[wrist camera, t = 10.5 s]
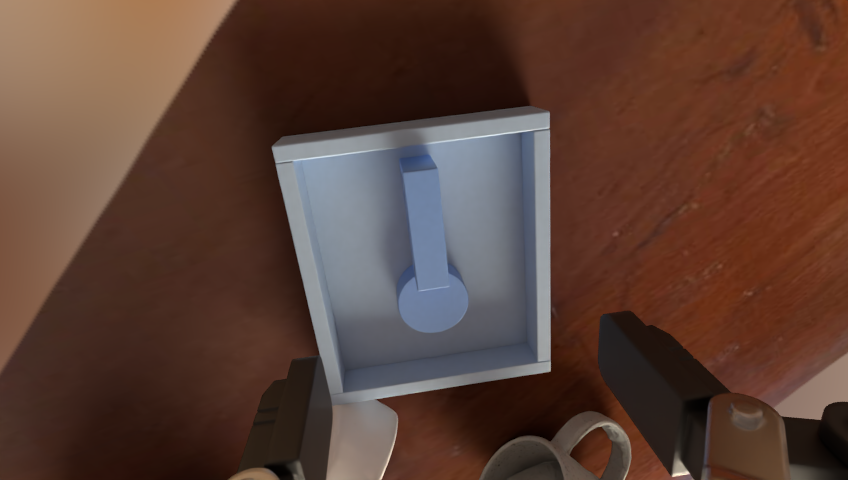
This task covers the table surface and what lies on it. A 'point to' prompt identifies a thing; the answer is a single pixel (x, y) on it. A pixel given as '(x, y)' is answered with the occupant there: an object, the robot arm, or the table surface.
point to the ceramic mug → (559, 454)
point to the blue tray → (391, 254)
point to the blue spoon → (427, 254)
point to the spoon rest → (361, 440)
